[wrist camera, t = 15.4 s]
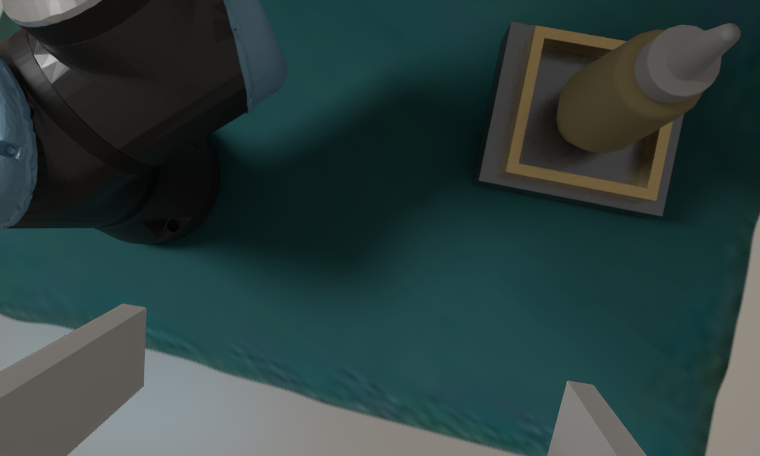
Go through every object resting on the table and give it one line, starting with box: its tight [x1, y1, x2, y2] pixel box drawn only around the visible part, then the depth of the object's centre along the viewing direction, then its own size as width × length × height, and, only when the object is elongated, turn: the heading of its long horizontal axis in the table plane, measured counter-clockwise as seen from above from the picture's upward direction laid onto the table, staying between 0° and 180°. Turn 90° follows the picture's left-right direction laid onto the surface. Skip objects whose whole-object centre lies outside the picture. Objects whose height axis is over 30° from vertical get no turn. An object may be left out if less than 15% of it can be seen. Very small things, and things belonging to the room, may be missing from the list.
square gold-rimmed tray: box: [472, 22, 684, 217], centre depth 42 cm, size 18×16×6 cm
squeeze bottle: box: [556, 23, 741, 154], centre depth 32 cm, size 8×8×18 cm
